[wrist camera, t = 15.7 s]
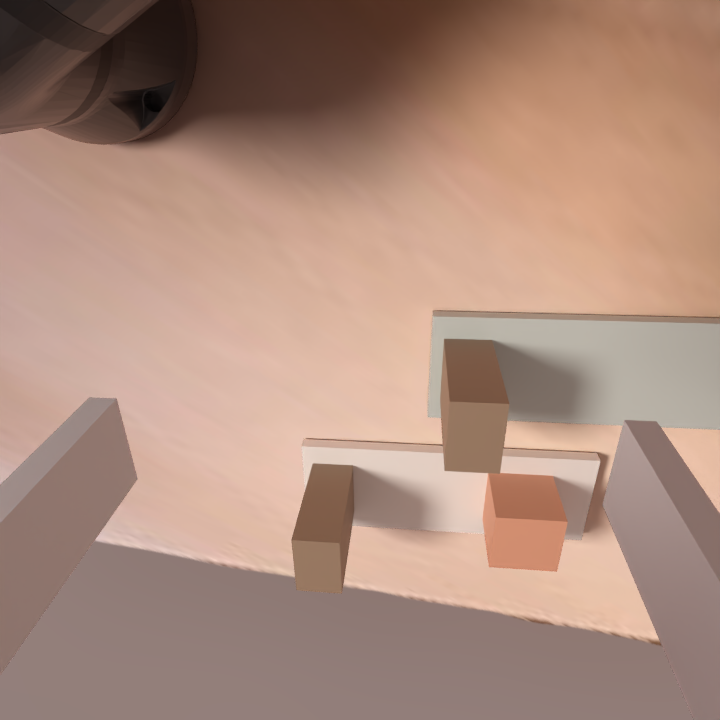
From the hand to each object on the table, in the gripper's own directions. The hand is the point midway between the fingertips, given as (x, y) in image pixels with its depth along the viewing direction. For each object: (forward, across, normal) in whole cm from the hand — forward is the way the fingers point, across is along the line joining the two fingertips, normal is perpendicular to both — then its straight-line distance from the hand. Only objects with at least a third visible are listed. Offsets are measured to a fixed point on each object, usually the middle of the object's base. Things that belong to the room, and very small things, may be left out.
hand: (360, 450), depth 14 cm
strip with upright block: (+32, +17, -14) cm, 39 cm away
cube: (+30, +12, -28) cm, 43 cm away
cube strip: (+32, +5, -28) cm, 43 cm away
